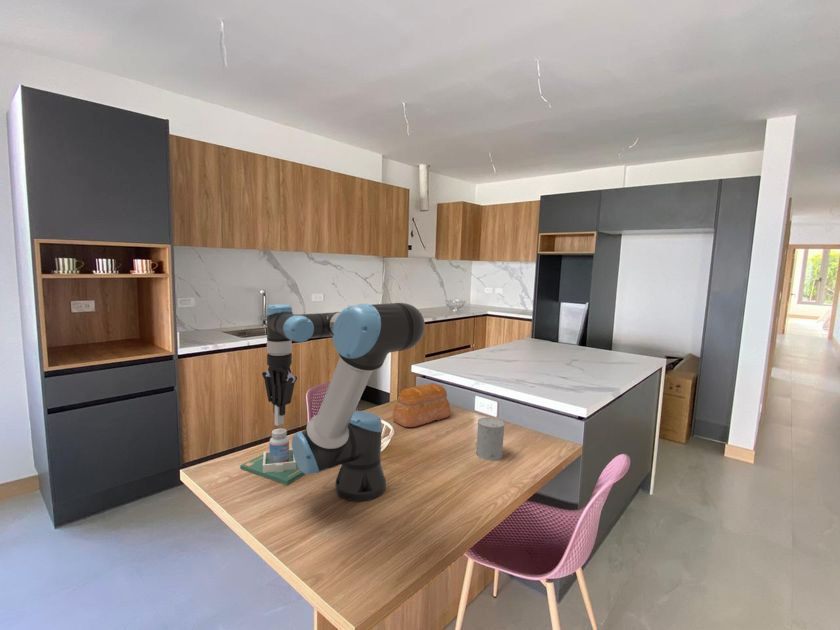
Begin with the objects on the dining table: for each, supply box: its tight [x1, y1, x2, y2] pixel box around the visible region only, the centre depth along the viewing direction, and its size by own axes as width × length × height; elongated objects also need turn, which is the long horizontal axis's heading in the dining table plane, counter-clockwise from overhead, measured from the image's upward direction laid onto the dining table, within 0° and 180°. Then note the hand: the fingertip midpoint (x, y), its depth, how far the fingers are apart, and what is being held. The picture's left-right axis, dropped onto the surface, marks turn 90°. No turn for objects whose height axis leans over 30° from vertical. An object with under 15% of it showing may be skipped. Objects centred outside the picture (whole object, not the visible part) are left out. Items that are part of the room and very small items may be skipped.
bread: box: [392, 382, 451, 428], centre depth 187 cm, size 14×26×15 cm, turn 131°
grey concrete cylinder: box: [475, 417, 505, 461], centre depth 154 cm, size 10×10×12 cm
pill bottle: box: [268, 428, 290, 464], centre depth 138 cm, size 6×6×11 cm
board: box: [240, 448, 305, 486], centre depth 139 cm, size 20×14×4 cm
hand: (279, 424), depth 137 cm, fingers closed
